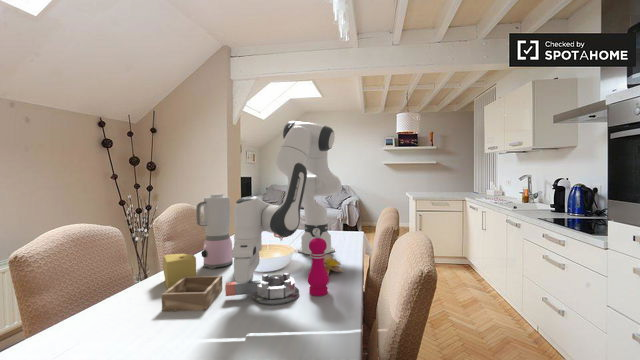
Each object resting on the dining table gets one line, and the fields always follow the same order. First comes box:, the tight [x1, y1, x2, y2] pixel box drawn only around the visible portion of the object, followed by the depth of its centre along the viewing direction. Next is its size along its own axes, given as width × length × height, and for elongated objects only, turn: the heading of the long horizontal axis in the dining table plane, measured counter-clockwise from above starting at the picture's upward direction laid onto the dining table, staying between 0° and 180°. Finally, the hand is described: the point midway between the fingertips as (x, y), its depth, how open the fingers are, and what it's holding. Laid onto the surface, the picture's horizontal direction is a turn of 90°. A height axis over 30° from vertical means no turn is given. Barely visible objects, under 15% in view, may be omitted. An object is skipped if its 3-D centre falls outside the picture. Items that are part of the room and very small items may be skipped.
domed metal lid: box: [252, 274, 300, 306], centre depth 95 cm, size 15×15×6 cm
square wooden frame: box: [161, 275, 223, 312], centre depth 92 cm, size 15×13×5 cm
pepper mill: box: [307, 233, 330, 297], centre depth 96 cm, size 7×7×20 cm
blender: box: [195, 193, 234, 270], centre depth 126 cm, size 16×12×32 cm
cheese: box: [162, 253, 197, 290], centre depth 108 cm, size 10×11×10 cm
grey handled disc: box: [224, 272, 296, 299], centre depth 94 cm, size 22×12×4 cm, turn 100°
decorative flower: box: [324, 254, 345, 275], centre depth 116 cm, size 15×11×10 cm
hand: (249, 286), depth 95 cm, fingers closed
